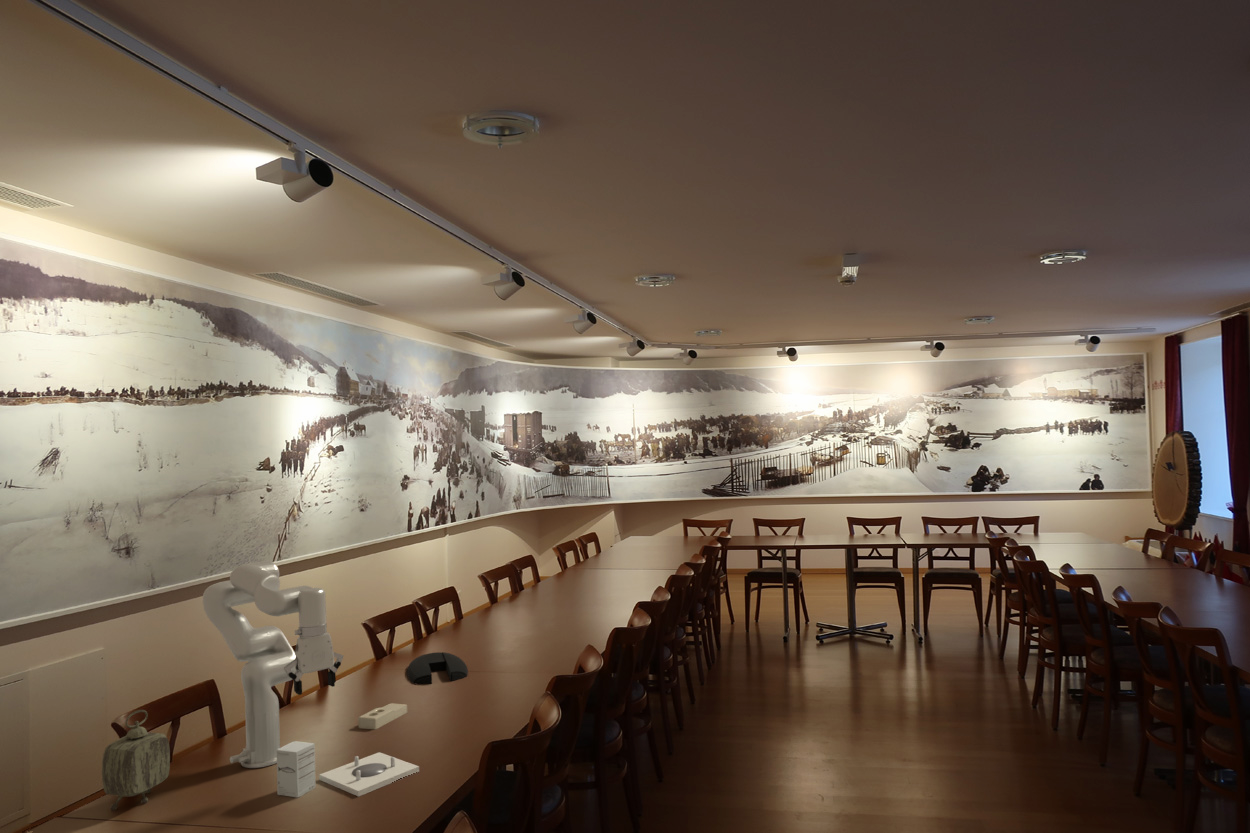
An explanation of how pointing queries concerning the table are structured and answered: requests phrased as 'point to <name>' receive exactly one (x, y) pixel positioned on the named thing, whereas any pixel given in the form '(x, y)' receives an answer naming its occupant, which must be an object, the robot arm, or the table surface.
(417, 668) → the docking station
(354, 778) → the locating plate
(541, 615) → the table surface
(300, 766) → the supplement box
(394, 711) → the electrical outlet
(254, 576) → the robot arm
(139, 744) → the tabletop clock
